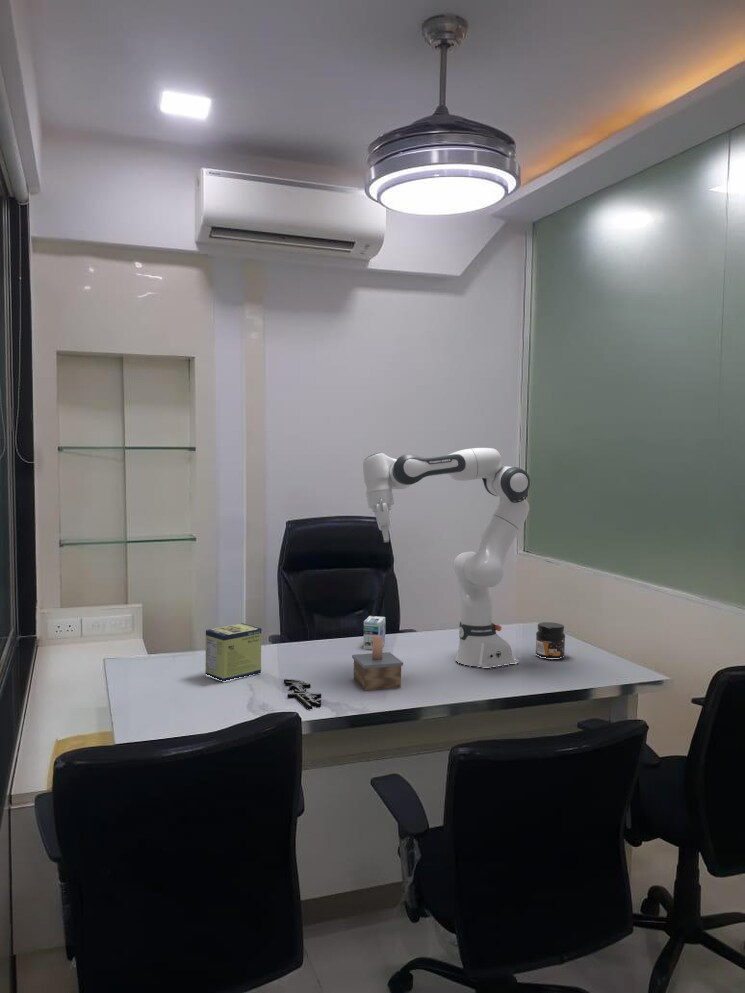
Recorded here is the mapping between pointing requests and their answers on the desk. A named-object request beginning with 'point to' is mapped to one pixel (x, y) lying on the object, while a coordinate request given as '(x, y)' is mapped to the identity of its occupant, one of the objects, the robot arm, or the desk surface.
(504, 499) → the robot arm
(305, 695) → the nameplate
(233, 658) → the protein box
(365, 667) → the lid
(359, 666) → the box
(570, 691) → the desk surface
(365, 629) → the light bulb box
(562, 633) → the supplement container
